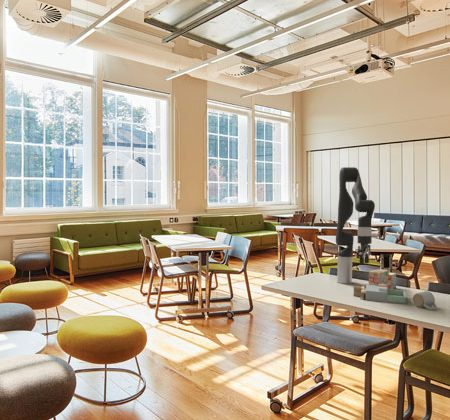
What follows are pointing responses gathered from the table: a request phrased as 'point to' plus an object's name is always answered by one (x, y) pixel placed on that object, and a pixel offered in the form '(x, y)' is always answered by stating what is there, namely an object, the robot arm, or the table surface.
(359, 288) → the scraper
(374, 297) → the grey flat block
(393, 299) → the tray
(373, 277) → the stack of blocks
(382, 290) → the tile
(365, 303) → the table surface
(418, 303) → the ceramic mug
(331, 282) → the table surface
